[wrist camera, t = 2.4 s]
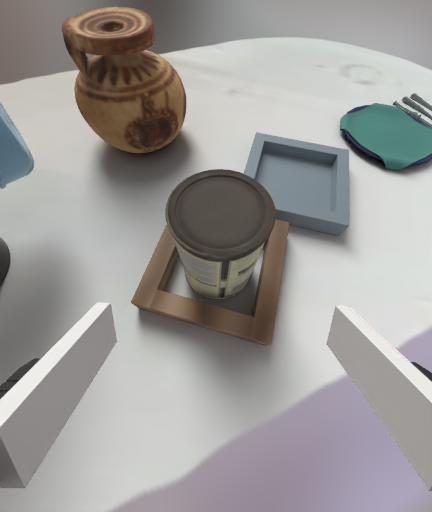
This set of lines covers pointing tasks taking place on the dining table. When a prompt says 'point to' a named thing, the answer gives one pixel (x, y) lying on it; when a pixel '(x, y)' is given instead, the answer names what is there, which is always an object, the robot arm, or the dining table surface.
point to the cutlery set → (391, 132)
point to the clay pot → (124, 79)
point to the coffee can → (219, 229)
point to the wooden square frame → (209, 315)
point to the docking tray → (303, 181)
